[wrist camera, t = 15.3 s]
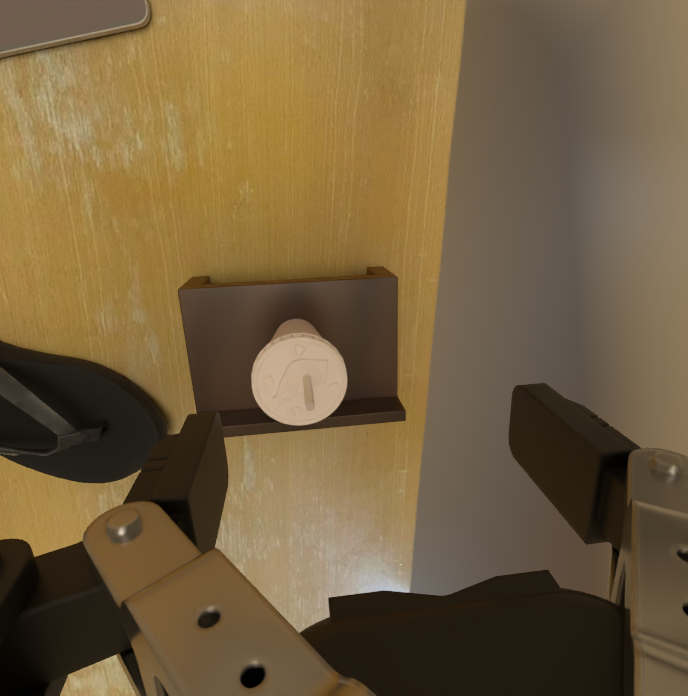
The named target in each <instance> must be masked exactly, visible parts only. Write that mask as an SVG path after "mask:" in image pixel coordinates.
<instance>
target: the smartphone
mask: <svg viewBox="0 0 688 696" xmlns="http://www.w3.org/2000/svg"><path fill="white" fill-rule="evenodd" d="M150 16H151V11H150V7H149V3H148V0H0V58H2V57H7V56H11V55H16V54H21V53H25V52H30V51H35V50H39V49H44V48H49V47H53V46H58V45H63V44H67V43H72V42H77V41H81V40H86V39H91V38H96V37H100V36H105V35H110V34H114V33H119V32H124V31H128V30H133V29H138V28H141V27H144V26H145V25H146V24H147V23H148V22H149V20H150Z"/></svg>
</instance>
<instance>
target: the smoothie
mask: <svg viewBox="0 0 688 696" xmlns="http://www.w3.org/2000/svg"><path fill="white" fill-rule="evenodd" d="M251 379H252V391H253V395H254V397H255V400H256V402H257V403H258V405H259V406H260V408H261V409H262V410H263V411H264V412H265V413H266V414H267V415H268V416H270V417H271V418H273V419H274V420H277V421H279V422H281V423H284V424H288V425H309V424H313V423H316V422H319V421H321V420H323V419H324V418H326V417H328V416H329V415H330V414H332V413H333V412H334V411H335V410H336V409H337V407H338V406H339V405H340V403H341V402H342V400H343V398H344V395H345V393H346V389H347V372H346V367H345V364H344V360H343V358H342V356H341V355H340V353H339V352H338V350H337V349H336V348H335V347H334V346H333V345H332V344H331V343H330V342H328V341H327V340H325V339H323V338H322V337H321V336H320V334H319V333H318V332H317V331H316V329H315V328H314V327H313V326H312V325H311V324H310V323H309V322H307V321H305V320H302V319H291V320H288V321H285V322H284V323H282V324H281V325H280V326H279V328H278V329H277V331H276V333H275V335H274V336H273V338H272V340H271V342H270V343H268V344H267V345H266V346H265V347H264V348H263V349H262V350H261V351H260V353H259V354H258V356H257V358H256V360H255V362H254V364H253V369H252V374H251Z"/></svg>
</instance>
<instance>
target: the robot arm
mask: <svg viewBox="0 0 688 696" xmlns="http://www.w3.org/2000/svg"><path fill="white" fill-rule="evenodd" d="M509 445H510V450H511V452H512V455H513V457H514V458H515V459H516V461H517V462H518V463H519V464H520V466H521V467H522V468H523V469H524V470H525V472H526V473H527V474H528V475H529V477H530V478H531V479H532V480H533V481H534V482H535V484H536V485H537V486H538V487H539V489H540V490H541V491H542V492H543V493H544V495H545V496H546V497H547V498H548V499H549V500H550V502H551V503H552V504H553V505H554V506H555V508H556V509H557V510H558V511H559V513H560V514H561V515H562V516H563V517H564V519H565V520H566V521H567V522H568V523H569V525H570V526H571V527H572V528H573V529H574V530H575V532H576V533H577V534H578V535H579V537H580V538H581V539H582V540H583V541H584V543H585V544H594V543H602V542H610V543H611V544H612V548H611V554H610V559H609V573H608V588H607V600H606V599H603V598H600V597H598V596H595V595H591V594H587V593H584V592H580V591H576V590H571V589H565V588H560V587H559V585H558V584H557V583H556V581H555V580H554V578H553V576H552V575H551V574H550V572H549V571H548V570H542V571H534V572H526V573H518V574H511V575H503V576H496V577H493V578H491V579H488V580H485V581H483V582H480V583H478V584H475V585H473V586H470V587H468V588H465V589H463V590H460V591H458V592H455V593H453V594H450V595H446V596H435V595H426V594H415V593H404V592H393V591H378V592H370V593H362V594H354V595H346V596H338V597H331V598H329V612H330V617H329V618H326V619H324V620H322V621H319V622H317V623H315V624H314V625H312V626H310V627H308V628H306V629H305V630H303V631H302V632H300V633H298V632H297V631H296V629H295V628H294V627H293V626H292V625H291V624H290V623H289V622H288V621H287V620H286V619H285V618H284V617H283V616H282V615H281V614H280V613H279V612H278V611H277V610H276V609H275V607H274V606H273V605H272V604H271V603H270V602H269V601H268V600H267V599H266V598H265V597H264V596H263V595H262V594H261V593H260V592H259V591H258V590H257V589H256V588H255V587H254V585H253V584H252V583H251V582H250V581H249V580H248V579H247V578H246V577H245V576H244V575H243V574H242V573H241V572H240V571H239V570H238V569H237V568H236V567H235V566H234V565H233V564H232V562H231V561H230V560H229V559H228V558H227V557H226V556H225V555H224V554H223V553H222V552H221V551H220V550H218V549H217V548H215V544H216V539H217V534H218V530H219V525H220V520H221V516H222V511H223V507H224V502H225V497H226V493H227V488H228V464H227V457H226V450H225V444H224V437H223V431H222V424H221V419H220V415H219V413H218V412H210V413H199V414H189V415H188V416H187V418H186V420H185V422H184V425H183V427H182V429H181V431H180V433H179V434H173V435H167V436H166V437H165V438H164V439H162V440H161V441H160V442H159V443H158V444H156V445H155V446H154V447H153V449H152V451H151V453H150V455H149V456H148V458H147V462H145V464H144V466H143V468H142V469H141V472H140V473H139V475H138V477H137V479H136V481H135V482H134V484H133V486H132V488H131V490H130V492H129V494H128V495H127V497H126V499H125V501H124V503H123V505H120V506H117V507H115V508H112V509H110V510H108V511H106V512H105V513H103V514H102V515H100V516H99V517H97V518H96V519H95V520H94V521H93V522H92V523H91V524H90V525H89V526H88V527H87V529H86V531H85V532H84V535H83V541H81V542H79V543H77V544H74V545H71V546H68V547H65V548H62V549H58V550H55V551H52V552H49V553H46V554H43V555H40V556H36V557H34V555H33V552H32V549H31V547H30V545H29V544H28V543H27V542H26V541H24V540H20V539H4V540H0V696H60V694H61V691H62V689H63V686H64V684H65V681H66V679H67V676H68V674H70V673H73V672H75V671H77V670H80V669H82V668H85V667H87V666H89V665H92V664H94V663H97V662H99V661H101V660H104V659H106V658H109V657H111V656H113V655H117V658H118V660H119V662H120V664H121V666H122V668H123V670H124V672H125V674H126V676H127V678H128V680H129V682H130V684H131V686H132V688H133V690H134V692H135V694H136V696H688V457H686V456H684V455H682V454H679V453H676V452H673V451H669V450H664V449H657V448H640V447H639V446H638V445H636V444H635V443H633V442H632V441H631V440H630V439H628V438H627V437H625V436H624V435H623V434H621V433H620V432H619V431H617V430H616V429H614V428H613V427H612V426H609V424H608V423H606V422H605V421H604V420H602V419H601V418H598V416H597V415H596V414H594V413H593V412H591V411H590V410H589V409H587V408H586V407H585V406H583V405H580V404H578V403H575V402H573V401H571V400H568V399H566V398H564V397H563V396H561V395H560V394H559V393H557V392H556V391H555V390H553V389H552V388H551V387H550V386H548V385H547V384H545V383H539V384H528V385H517V386H516V387H515V388H514V390H513V393H512V402H511V414H510V425H509Z"/></svg>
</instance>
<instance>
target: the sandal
mask: <svg viewBox="0 0 688 696" xmlns="http://www.w3.org/2000/svg"><path fill="white" fill-rule="evenodd" d="M167 431H168V428H167V424H166V421H165V419H164V417H163V415H162V414H161V412H160V411H159V410H158V408H157V407H156V406H155V404H154V403H153V402H152V401H151V400H150V399H149V398H148V397H147V396H146V395H145V394H144V393H143V392H142V391H141V390H140V389H139V388H138V387H136V386H135V385H134V384H133V383H131V382H130V381H129V380H127V379H126V378H124V377H123V376H121V375H119V374H117V373H116V372H114V371H112V370H110V369H108V368H105V367H103V366H100V365H98V364H95V363H92V362H88V361H84V360H80V359H74V358H69V357H62V356H57V355H51V354H45V353H40V352H35V351H31V350H26V349H22V348H18V347H15V346H12V345H8V344H5V343H2V342H0V455H1V456H3V457H5V458H7V459H9V460H11V461H14V462H16V463H18V464H20V465H23V466H25V467H28V468H31V469H33V470H36V471H39V472H42V473H45V474H48V475H52V476H55V477H59V478H63V479H67V480H71V481H76V482H82V483H107V482H112V481H117V480H120V479H123V478H125V477H127V476H129V475H131V474H133V473H135V472H137V471H138V470H140V469H141V468H143V466H144V464H145V462H147V458H148V456H149V455H150V453H151V451H152V449H153V447H154V446H155V445H156V444H158V443H159V442H160V441H161V440H162V439H164V438H165V437H166V436H167Z"/></svg>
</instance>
